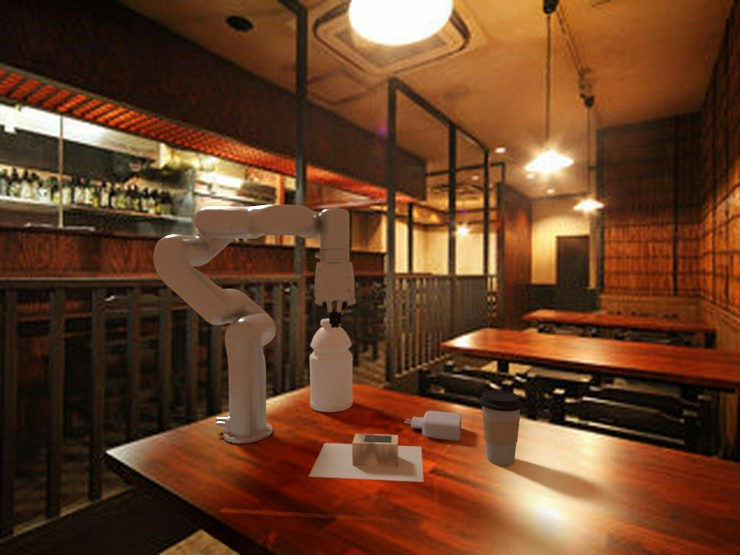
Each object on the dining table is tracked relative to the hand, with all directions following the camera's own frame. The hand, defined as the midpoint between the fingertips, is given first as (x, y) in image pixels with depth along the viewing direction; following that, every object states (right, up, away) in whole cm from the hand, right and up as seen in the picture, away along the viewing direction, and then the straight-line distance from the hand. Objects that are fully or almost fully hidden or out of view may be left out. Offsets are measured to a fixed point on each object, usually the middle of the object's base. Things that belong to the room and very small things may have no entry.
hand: (335, 326), depth 103 cm
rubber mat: (+9, -29, -13) cm, 33 cm away
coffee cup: (+39, -29, -12) cm, 50 cm away
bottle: (-3, -29, +25) cm, 38 cm away
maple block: (+5, -26, -13) cm, 30 cm away
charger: (+26, -29, +4) cm, 39 cm away
